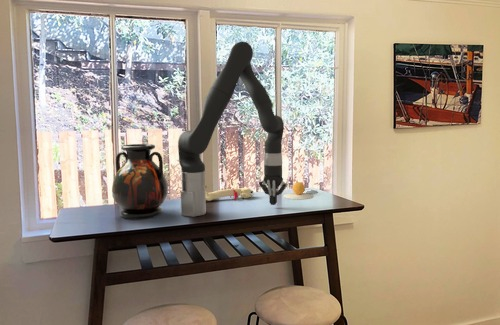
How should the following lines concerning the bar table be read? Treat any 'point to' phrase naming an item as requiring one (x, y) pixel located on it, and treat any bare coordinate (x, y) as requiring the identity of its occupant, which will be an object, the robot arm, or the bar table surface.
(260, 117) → the robot arm
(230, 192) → the cat figure
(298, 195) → the disc
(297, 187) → the ball
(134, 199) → the amphora vase
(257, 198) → the bar table surface
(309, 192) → the disc
